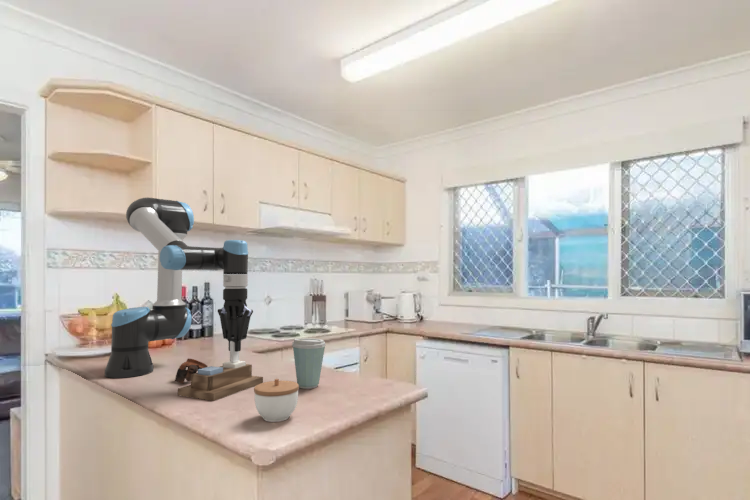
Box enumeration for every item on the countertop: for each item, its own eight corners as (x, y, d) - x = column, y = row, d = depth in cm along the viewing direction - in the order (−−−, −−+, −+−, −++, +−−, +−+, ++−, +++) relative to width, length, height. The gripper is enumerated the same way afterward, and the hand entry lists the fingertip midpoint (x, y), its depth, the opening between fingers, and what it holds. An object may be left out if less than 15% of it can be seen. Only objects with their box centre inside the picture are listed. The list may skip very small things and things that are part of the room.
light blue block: (197, 383, 124) (197, 369, 125) (210, 379, 129) (210, 366, 129) (210, 384, 122) (210, 370, 123) (222, 380, 127) (223, 367, 127)
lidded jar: (306, 419, 102) (306, 380, 103) (263, 429, 96) (263, 387, 97) (287, 408, 111) (288, 372, 111) (247, 416, 105) (248, 378, 105)
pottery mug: (171, 381, 142) (183, 358, 146) (198, 391, 145) (209, 368, 149) (173, 379, 132) (186, 354, 136) (202, 390, 135) (214, 365, 139)
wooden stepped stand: (177, 395, 123) (178, 374, 124) (229, 379, 142) (230, 361, 143) (213, 400, 118) (214, 379, 118) (262, 383, 137) (263, 364, 137)
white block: (222, 375, 134) (222, 363, 134) (233, 372, 138) (234, 360, 138) (234, 377, 131) (234, 364, 132) (245, 373, 136) (245, 361, 136)
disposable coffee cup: (306, 380, 140) (306, 335, 141) (332, 384, 134) (332, 337, 135) (284, 388, 131) (284, 339, 132) (311, 392, 125) (311, 341, 126)
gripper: (211, 288, 136) (210, 362, 134) (243, 288, 130) (242, 365, 129) (228, 287, 143) (227, 357, 141) (259, 287, 137) (258, 360, 136)
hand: (234, 361), depth 135 cm, fingers closed
